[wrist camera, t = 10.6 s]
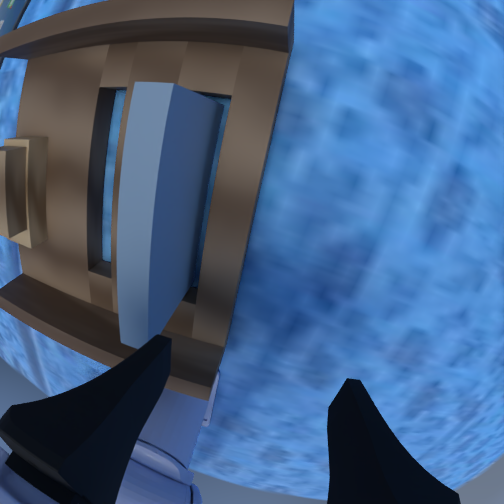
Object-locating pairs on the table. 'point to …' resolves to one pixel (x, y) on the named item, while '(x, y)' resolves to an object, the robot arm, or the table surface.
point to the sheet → (161, 203)
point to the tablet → (11, 16)
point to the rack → (94, 156)
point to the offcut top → (12, 190)
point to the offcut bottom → (33, 189)
